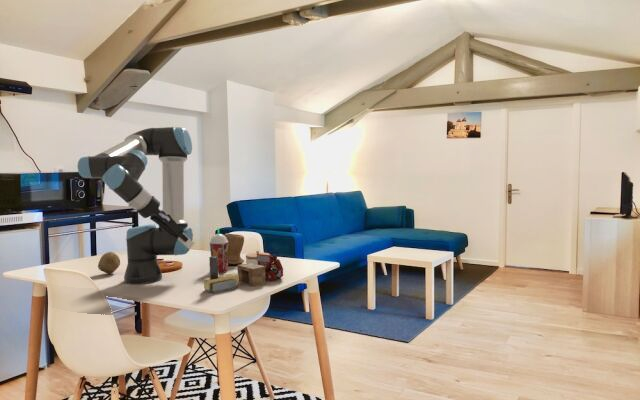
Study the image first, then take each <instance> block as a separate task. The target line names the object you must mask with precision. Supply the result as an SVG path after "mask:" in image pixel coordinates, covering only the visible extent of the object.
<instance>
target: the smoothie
mask: <svg viewBox="0 0 640 400" xmlns="http://www.w3.org/2000/svg"><path fill="white" fill-rule="evenodd" d="M224 235H225V234H223V233H220V227H217V233H216V234H214V235H213V236H212V237H211V239H210V241H209V249H210V257H213V256H217V257H218V269H219V274H220V273H221V274H222V273H225V272H227V270H228V268H229V267H228V266H229V264H228V240H227V238H226V237H225V236H224Z"/></svg>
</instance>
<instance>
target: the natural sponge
mask: <svg viewBox="0 0 640 400" xmlns="http://www.w3.org/2000/svg"><path fill="white" fill-rule="evenodd" d="M120 266H121V259H120V256H119V255H118V254H116V253H115V252H112V251H109V252H108V251H107V252H106V253H104V254H103V255H102V256H101V257H100V259H99V262H98V264H97V267H98V271H101V272H103V273H105V274H107V273H111V274H113V273H114V272H116V271H117V269H118V268H119V267H120Z"/></svg>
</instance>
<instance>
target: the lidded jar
mask: <svg viewBox="0 0 640 400" xmlns="http://www.w3.org/2000/svg"><path fill="white" fill-rule="evenodd" d="M258 254H265V255H271V254H270V253H269V252H260V251H259V250H256V252H251V253H247V254H245V262H246V263H245V264H247V263H252V264H256V265H258V261H257V255H258Z"/></svg>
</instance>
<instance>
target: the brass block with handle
mask: <svg viewBox="0 0 640 400" xmlns="http://www.w3.org/2000/svg"><path fill="white" fill-rule="evenodd" d="M208 258H209V259H208V260H209V261H208V262H209V276H210V277H207V278H203V287H204V288H203V289H204V290H205V289H208V290H211V289H212V284H213V283H218V282H223V281H228V280H233V279H236V283H237V285H238V284H240V282H239V274H238V273H233V272H232V273H228V274H222V275H220V273H219V269H218V257H217V256H213V257H211V256H209V257H208Z"/></svg>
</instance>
